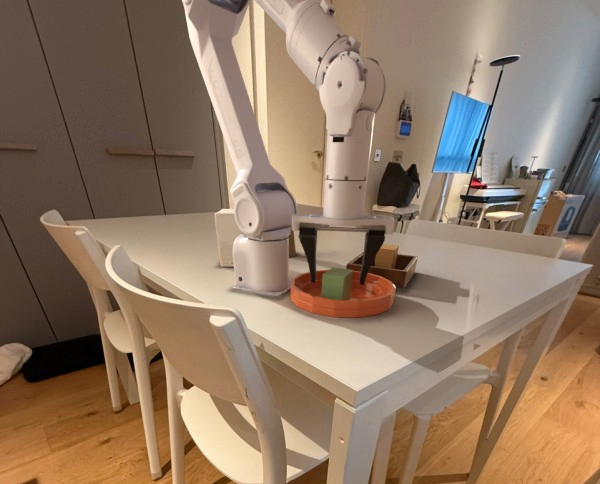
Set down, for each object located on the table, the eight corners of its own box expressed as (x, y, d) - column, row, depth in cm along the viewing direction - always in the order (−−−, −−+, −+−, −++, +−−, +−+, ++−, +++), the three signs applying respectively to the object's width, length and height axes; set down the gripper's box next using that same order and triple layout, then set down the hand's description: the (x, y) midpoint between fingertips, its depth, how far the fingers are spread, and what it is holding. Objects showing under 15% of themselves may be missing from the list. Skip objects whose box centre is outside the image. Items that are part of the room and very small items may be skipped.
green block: (320, 305, 54) (322, 274, 51) (330, 297, 58) (332, 267, 55) (341, 309, 53) (344, 277, 50) (349, 300, 56) (353, 270, 54)
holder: (344, 282, 66) (346, 263, 64) (363, 267, 76) (365, 250, 74) (402, 291, 63) (406, 271, 60) (414, 273, 72) (418, 256, 70)
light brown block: (373, 273, 70) (377, 247, 67) (378, 268, 73) (382, 243, 70) (390, 276, 69) (394, 249, 66) (394, 270, 72) (399, 245, 69)
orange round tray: (273, 308, 54) (272, 290, 52) (313, 280, 67) (314, 265, 65) (377, 328, 49) (381, 308, 47) (400, 294, 61) (403, 277, 60)
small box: (245, 267, 74) (241, 213, 68) (219, 267, 74) (213, 212, 68) (250, 258, 80) (246, 208, 74) (226, 258, 80) (221, 208, 74)
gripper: (396, 179, 48) (381, 276, 56) (296, 177, 49) (295, 272, 57) (403, 182, 42) (385, 290, 50) (290, 179, 43) (289, 285, 51)
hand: (337, 281), depth 53 cm, fingers open, 7 cm apart
